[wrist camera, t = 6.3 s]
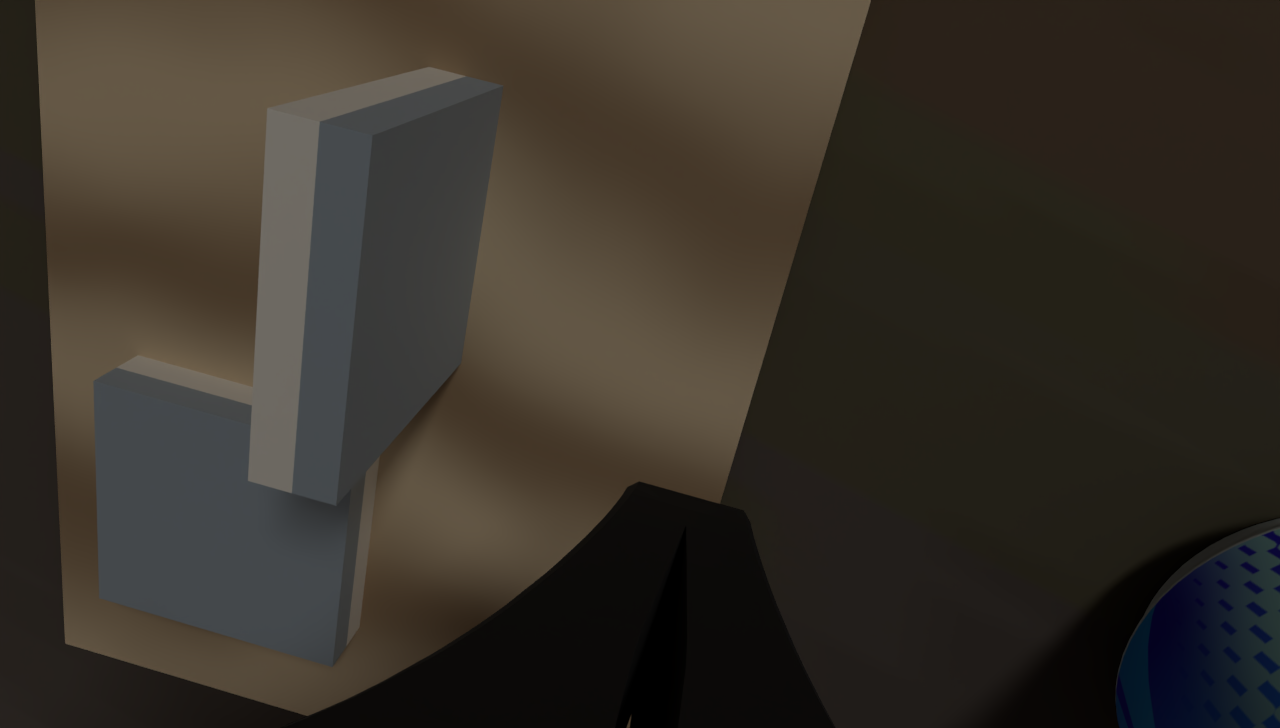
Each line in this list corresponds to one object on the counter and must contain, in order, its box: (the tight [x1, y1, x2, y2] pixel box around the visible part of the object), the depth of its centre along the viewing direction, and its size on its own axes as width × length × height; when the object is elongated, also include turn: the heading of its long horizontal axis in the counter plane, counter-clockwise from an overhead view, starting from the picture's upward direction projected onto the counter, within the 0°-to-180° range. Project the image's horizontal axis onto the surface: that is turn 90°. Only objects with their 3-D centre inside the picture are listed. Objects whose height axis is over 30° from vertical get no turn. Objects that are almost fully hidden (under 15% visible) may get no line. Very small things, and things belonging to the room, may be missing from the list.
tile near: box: [248, 67, 503, 506], centre depth 17 cm, size 6×2×6 cm, turn 168°
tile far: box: [93, 355, 380, 667], centre depth 22 cm, size 6×2×6 cm
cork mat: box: [35, 0, 871, 728], centre depth 21 cm, size 22×16×1 cm
